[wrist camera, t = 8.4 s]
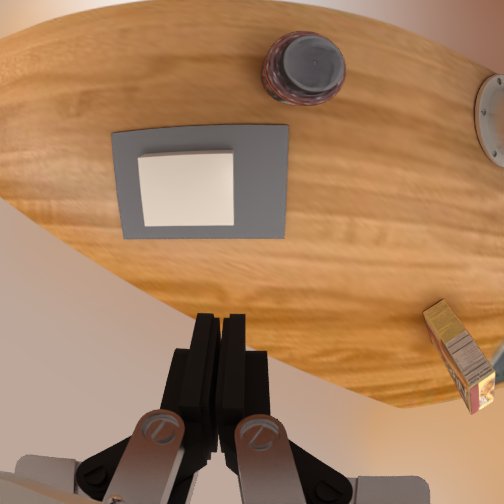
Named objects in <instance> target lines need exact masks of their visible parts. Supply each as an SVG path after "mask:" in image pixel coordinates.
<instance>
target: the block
mask: <svg viewBox="0 0 504 504" xmlns="http://www.w3.org/2000/svg"><path fill="white" fill-rule="evenodd" d="M138 167H139V178H140V189H141V198H142V207H143V215H144V223H145V226H209V225H234V219H235V199H234V150H206V151H181V152H164V153H149V154H144V155H142V156H140V157H138Z"/></svg>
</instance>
